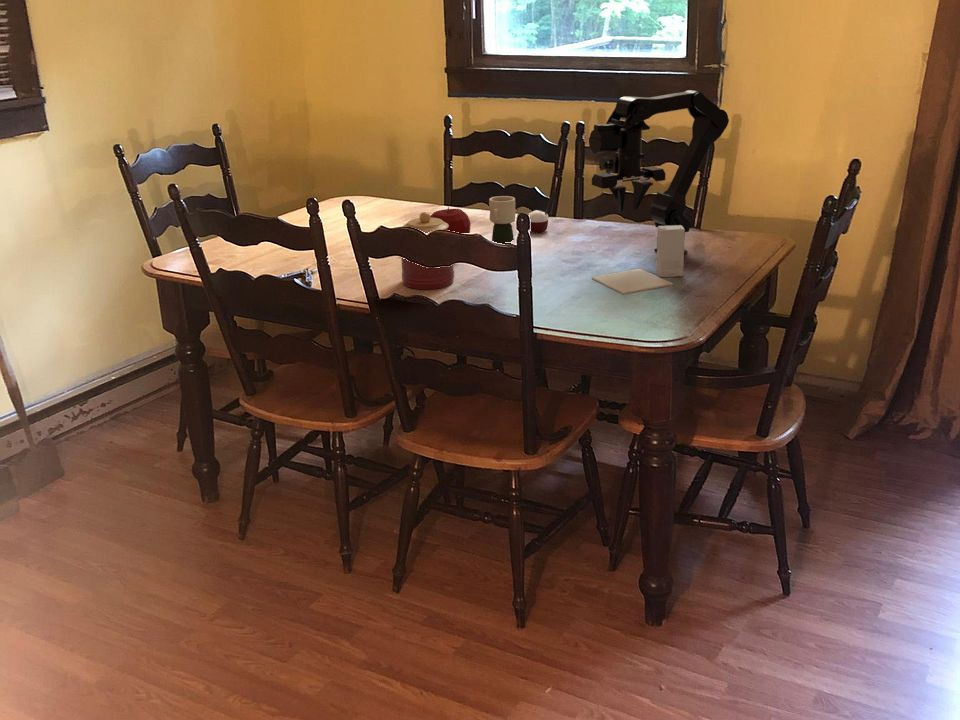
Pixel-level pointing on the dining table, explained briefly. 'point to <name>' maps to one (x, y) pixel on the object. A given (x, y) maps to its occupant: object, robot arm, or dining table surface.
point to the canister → (424, 276)
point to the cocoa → (540, 219)
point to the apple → (454, 219)
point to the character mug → (502, 218)
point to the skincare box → (670, 251)
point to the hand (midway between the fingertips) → (627, 210)
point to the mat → (631, 281)
